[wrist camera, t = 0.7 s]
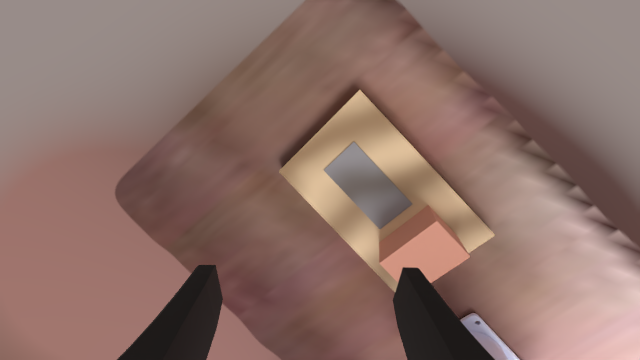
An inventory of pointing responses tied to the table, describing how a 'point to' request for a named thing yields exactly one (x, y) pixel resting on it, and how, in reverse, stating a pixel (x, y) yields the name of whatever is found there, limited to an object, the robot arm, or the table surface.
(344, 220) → the board
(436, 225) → the block
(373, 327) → the table surface
